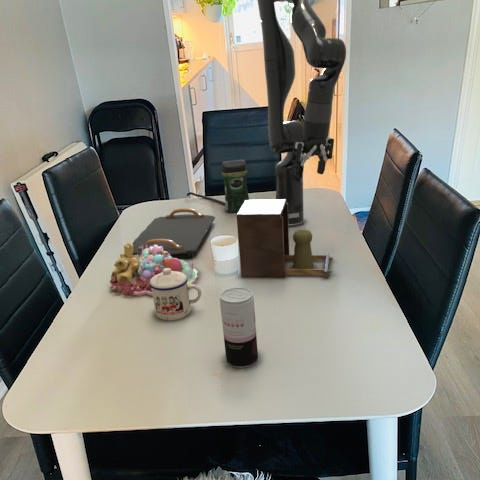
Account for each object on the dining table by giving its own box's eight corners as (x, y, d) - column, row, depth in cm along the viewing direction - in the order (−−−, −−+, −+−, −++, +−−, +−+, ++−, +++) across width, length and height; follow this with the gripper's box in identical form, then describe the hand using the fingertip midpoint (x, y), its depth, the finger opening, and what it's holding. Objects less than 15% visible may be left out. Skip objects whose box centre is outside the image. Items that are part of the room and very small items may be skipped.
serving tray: (194, 262, 150) (192, 243, 146) (122, 263, 153) (118, 244, 150) (218, 220, 183) (216, 204, 180) (158, 222, 186) (155, 206, 183)
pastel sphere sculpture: (100, 300, 132) (92, 268, 127) (121, 265, 152) (115, 236, 148) (193, 295, 130) (189, 262, 126) (202, 260, 151) (198, 231, 146)
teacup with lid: (151, 322, 119) (143, 278, 113) (159, 304, 127) (151, 262, 121) (201, 320, 118) (195, 275, 112) (205, 302, 126) (200, 260, 120)
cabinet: (289, 259, 146) (287, 199, 137) (284, 278, 135) (282, 213, 126) (249, 259, 148) (245, 199, 140) (241, 277, 137) (236, 214, 129)
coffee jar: (248, 205, 197) (245, 157, 188) (251, 211, 190) (247, 161, 181) (224, 207, 196) (219, 159, 187) (226, 213, 189) (221, 164, 180)
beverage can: (235, 348, 106) (229, 285, 99) (263, 354, 103) (259, 289, 96) (220, 364, 101) (212, 299, 94) (249, 371, 98) (243, 304, 91)
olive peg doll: (313, 263, 142) (313, 226, 136) (314, 272, 137) (314, 234, 131) (292, 264, 143) (291, 227, 137) (292, 273, 137) (291, 235, 132)
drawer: (332, 258, 143) (332, 253, 142) (331, 277, 132) (331, 271, 131) (284, 258, 146) (284, 253, 145) (279, 276, 135) (278, 271, 134)
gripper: (326, 114, 146) (318, 169, 155) (289, 117, 139) (283, 175, 148) (344, 119, 141) (335, 176, 150) (307, 123, 134) (300, 182, 143)
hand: (309, 175), depth 149 cm, fingers open, 8 cm apart
